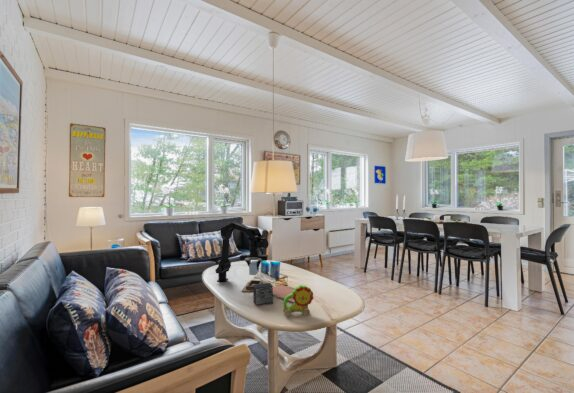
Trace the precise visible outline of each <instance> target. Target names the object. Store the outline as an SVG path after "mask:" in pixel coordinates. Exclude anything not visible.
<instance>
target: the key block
mask: <svg viewBox="0 0 574 393" xmlns="http://www.w3.org/2000/svg"><path fill="white" fill-rule="evenodd" d="M257 261H258V260H251V263H250V264H249V266H248V269H249V270H248V271H249V272H248V274H249V276H257V275H258V273H259V272H260V268H259V269H258V270H257Z"/></svg>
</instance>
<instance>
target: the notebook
mask: <svg viewBox="0 0 574 393" xmlns="http://www.w3.org/2000/svg"><path fill="white" fill-rule="evenodd" d="M294 289H295V287H294V288H293V287H291V286H287V285H283V284H280V285H277V286H273V298H274V297H275V298H277V299H280V300H283V301H284V299H285V297H286V296H287V295H289V294H291V293H292V291H293V290H294ZM287 303H290V304H291V305H292V304H294V303H295V300H294V299H289V300H288V301H287Z"/></svg>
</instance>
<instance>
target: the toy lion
mask: <svg viewBox="0 0 574 393" xmlns="http://www.w3.org/2000/svg"><path fill="white" fill-rule="evenodd" d="M289 299H294V300H295V303H294V304H292V303H291V304H290V306H287V304H288V302H287V301H288V300H289ZM312 301H314V292H313V290H311V288H310V287H309V286H306V285H302V284H300V285H298V286H296V287H294V290H293V291H292V293H291V294H289V295H287V296H286V297H285V299H284V300H283V313H284V316H285V317H286V318H289V317H291V316H292V314H293V313H302V315H304V316H306V317H307V316H309V315H310V313H311V311H310V309H309V305H311V304H312Z"/></svg>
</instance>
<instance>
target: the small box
mask: <svg viewBox="0 0 574 393" xmlns="http://www.w3.org/2000/svg"><path fill="white" fill-rule="evenodd" d="M273 287H274V286H273V285H272V283H270V282H267V283H265V284H257V285H253V292H252V293H253V294H252V295H253V297H252V298H253V304H254V306H264V305H270V304H273V303H274V296H273Z"/></svg>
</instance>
